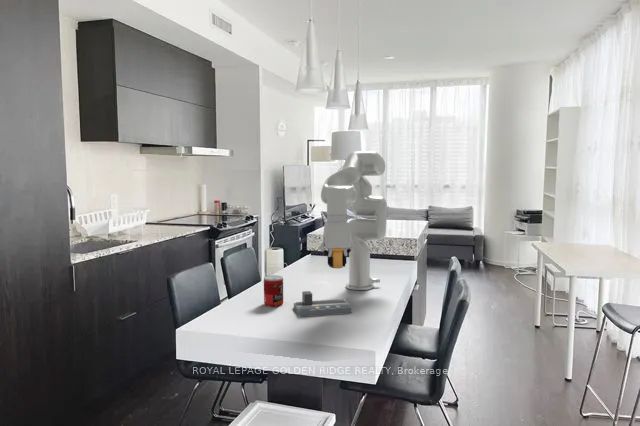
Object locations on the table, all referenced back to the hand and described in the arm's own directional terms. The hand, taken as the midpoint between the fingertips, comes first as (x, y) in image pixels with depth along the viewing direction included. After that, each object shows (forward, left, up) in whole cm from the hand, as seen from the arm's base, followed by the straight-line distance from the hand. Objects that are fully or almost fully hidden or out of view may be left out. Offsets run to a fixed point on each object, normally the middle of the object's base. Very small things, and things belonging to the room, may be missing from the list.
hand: (337, 265), depth 178 cm
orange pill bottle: (0, 0, -1) cm, 1 cm away
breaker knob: (+12, 0, -15) cm, 19 cm away
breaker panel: (+6, 0, -17) cm, 18 cm away
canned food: (+23, -13, -17) cm, 32 cm away
